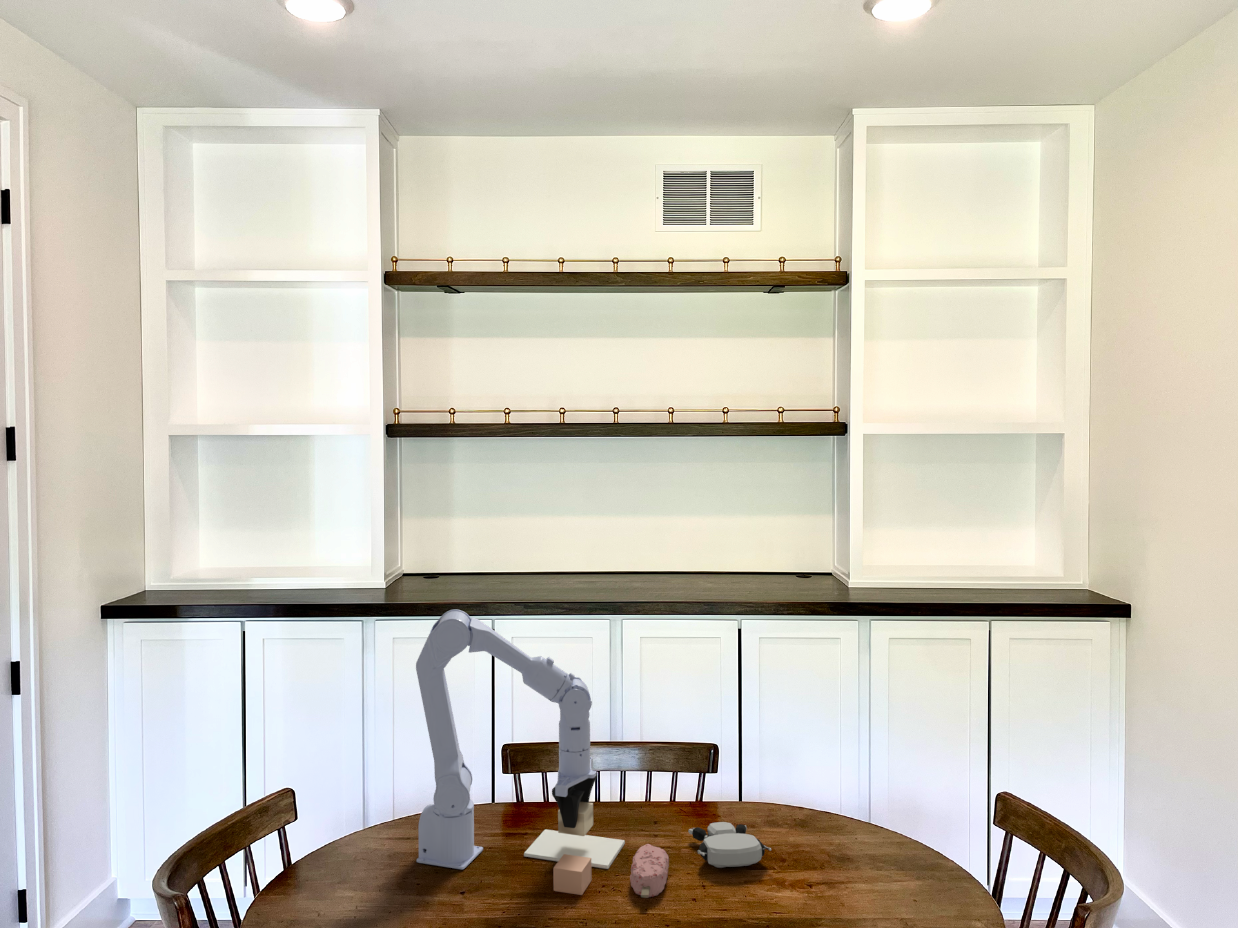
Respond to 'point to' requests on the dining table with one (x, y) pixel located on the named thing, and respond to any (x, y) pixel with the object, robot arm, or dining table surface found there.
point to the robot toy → (728, 845)
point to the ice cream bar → (649, 871)
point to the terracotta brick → (572, 874)
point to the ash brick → (579, 820)
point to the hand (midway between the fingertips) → (575, 820)
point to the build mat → (575, 847)
